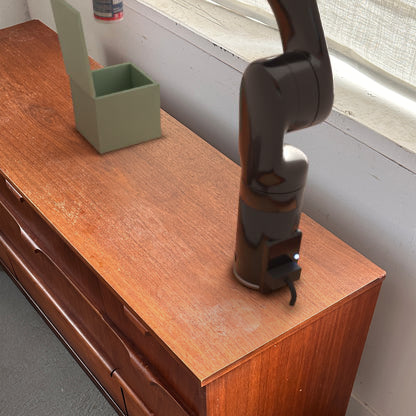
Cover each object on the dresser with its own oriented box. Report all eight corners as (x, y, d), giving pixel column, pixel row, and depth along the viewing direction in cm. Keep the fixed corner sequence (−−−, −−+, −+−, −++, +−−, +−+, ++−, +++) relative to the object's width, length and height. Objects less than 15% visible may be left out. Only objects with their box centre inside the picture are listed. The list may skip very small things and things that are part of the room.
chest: (134, 113, 134) (131, 61, 126) (161, 137, 127) (159, 83, 119) (75, 128, 129) (68, 75, 121) (100, 154, 122) (94, 99, 114)
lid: (52, -10, 109) (47, -9, 109) (79, 12, 103) (75, 13, 103) (70, 72, 121) (66, 73, 120) (96, 96, 114) (92, 98, 114)
